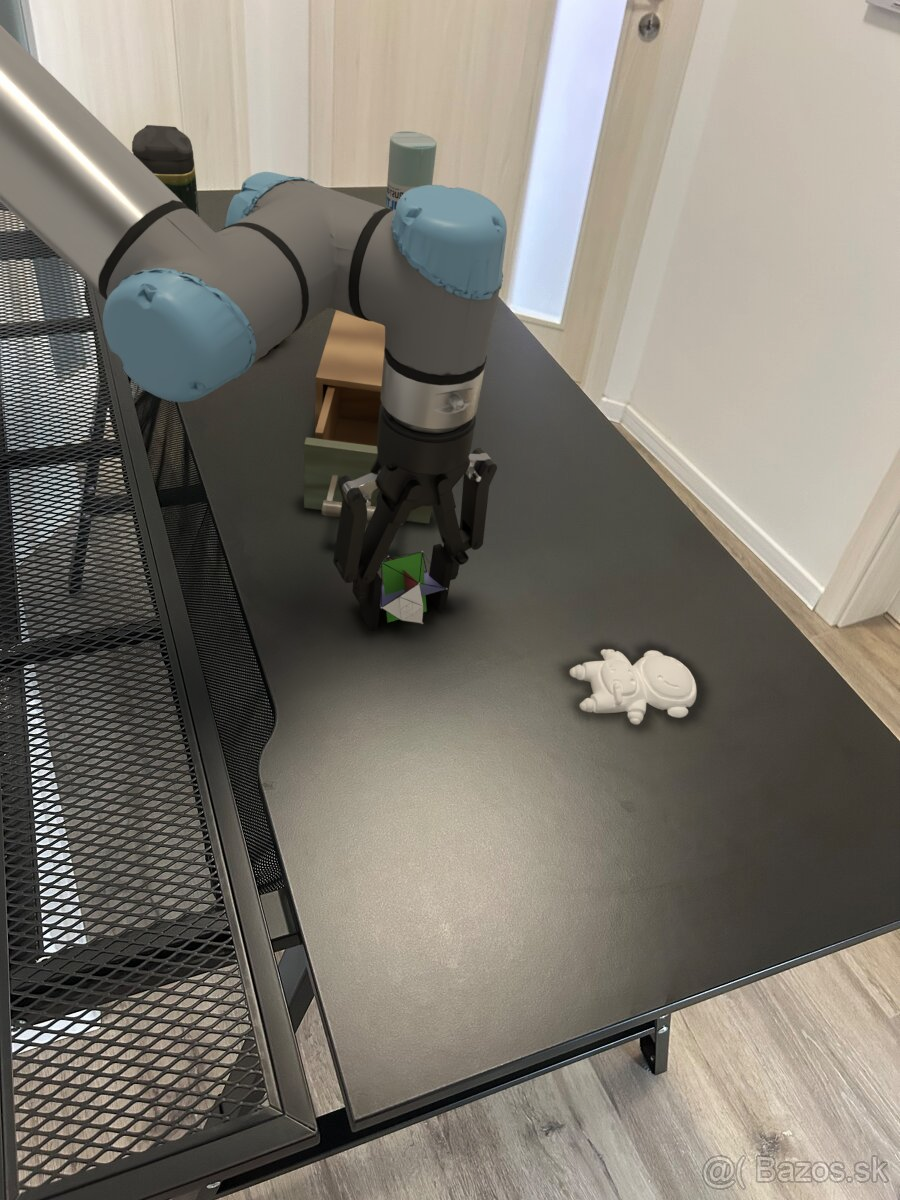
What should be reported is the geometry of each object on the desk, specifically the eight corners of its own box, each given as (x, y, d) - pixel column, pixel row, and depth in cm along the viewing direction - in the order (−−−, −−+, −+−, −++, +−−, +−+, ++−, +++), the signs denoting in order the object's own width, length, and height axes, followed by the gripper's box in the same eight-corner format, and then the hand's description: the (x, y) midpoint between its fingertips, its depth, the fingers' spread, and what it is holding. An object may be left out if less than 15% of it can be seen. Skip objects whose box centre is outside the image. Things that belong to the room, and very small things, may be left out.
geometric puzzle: (348, 568, 82) (372, 553, 75) (412, 551, 85) (441, 535, 78) (370, 639, 82) (396, 632, 75) (433, 620, 85) (464, 611, 77)
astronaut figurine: (562, 654, 82) (569, 633, 79) (681, 657, 83) (691, 636, 81) (578, 729, 76) (586, 709, 73) (706, 731, 77) (718, 711, 75)
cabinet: (439, 469, 99) (450, 395, 92) (314, 453, 99) (315, 376, 91) (447, 388, 112) (457, 317, 104) (336, 373, 111) (338, 300, 104)
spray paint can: (428, 286, 131) (444, 147, 117) (389, 289, 129) (400, 148, 115) (413, 267, 135) (425, 130, 121) (374, 270, 133) (383, 131, 118)
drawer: (425, 560, 87) (434, 497, 81) (294, 544, 86) (293, 479, 80) (438, 435, 103) (446, 374, 97) (327, 420, 102) (328, 358, 96)
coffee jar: (205, 284, 123) (193, 147, 110) (147, 284, 121) (128, 144, 108) (202, 254, 129) (190, 121, 116) (147, 254, 127) (129, 118, 114)
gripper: (328, 459, 59) (321, 668, 76) (559, 414, 67) (507, 612, 84) (291, 400, 64) (292, 610, 80) (512, 364, 71) (472, 562, 88)
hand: (402, 611), depth 82 cm, fingers closed on geometric puzzle, 6 cm apart
